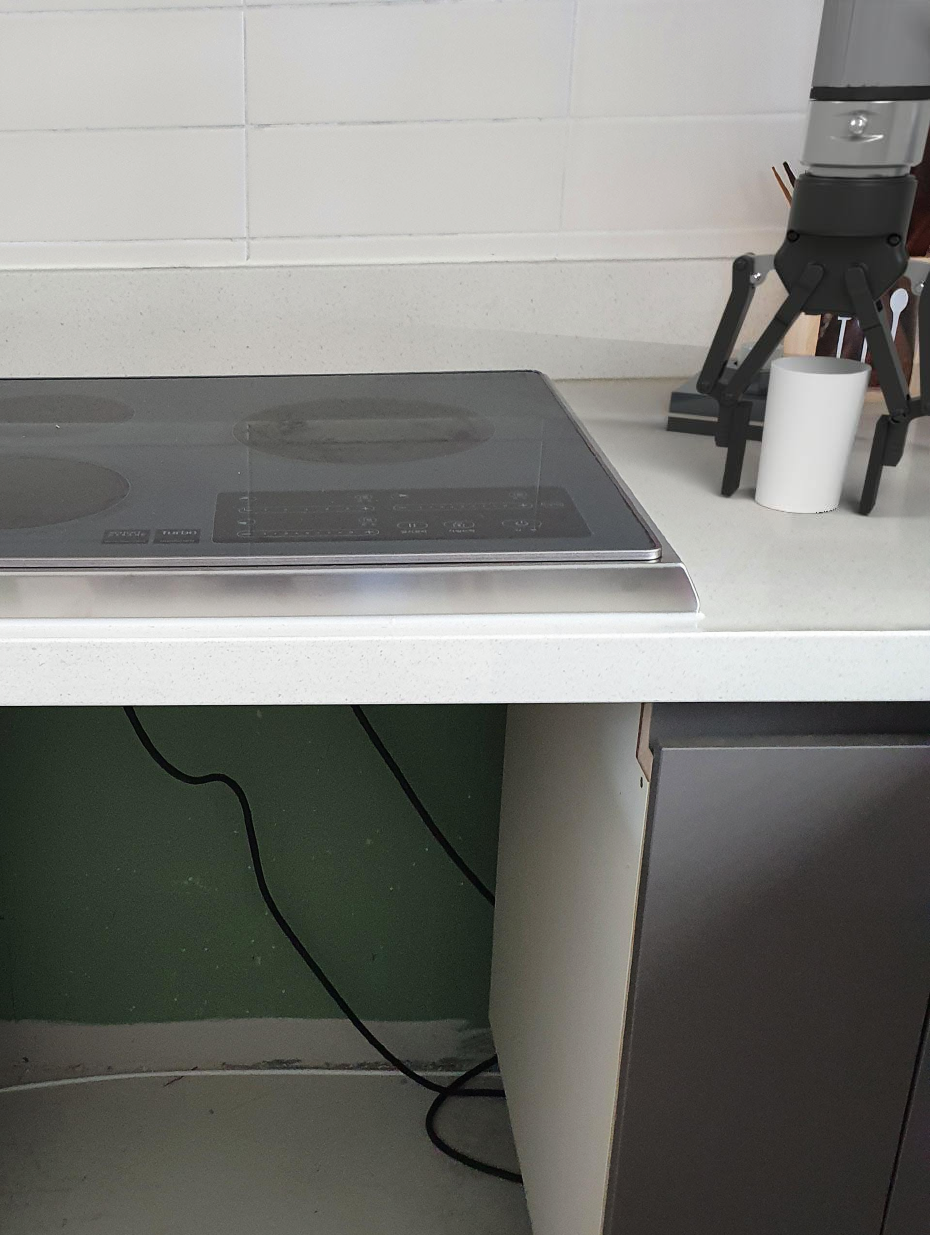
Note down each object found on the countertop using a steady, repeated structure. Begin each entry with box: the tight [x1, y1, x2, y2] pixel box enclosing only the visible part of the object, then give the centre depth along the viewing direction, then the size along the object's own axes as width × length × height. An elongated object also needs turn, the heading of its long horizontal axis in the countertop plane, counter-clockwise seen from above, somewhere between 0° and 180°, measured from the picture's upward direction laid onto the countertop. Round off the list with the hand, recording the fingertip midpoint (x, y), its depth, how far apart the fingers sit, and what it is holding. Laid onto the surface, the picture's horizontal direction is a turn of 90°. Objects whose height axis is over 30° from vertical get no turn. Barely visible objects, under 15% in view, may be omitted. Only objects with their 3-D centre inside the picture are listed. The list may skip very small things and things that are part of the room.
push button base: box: [665, 356, 770, 442], centre depth 119 cm, size 12×10×6 cm
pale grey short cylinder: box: [737, 341, 785, 369], centre depth 117 cm, size 4×4×2 cm
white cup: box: [754, 355, 873, 514], centre depth 97 cm, size 7×7×10 cm
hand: (796, 498), depth 100 cm, fingers open, 9 cm apart
